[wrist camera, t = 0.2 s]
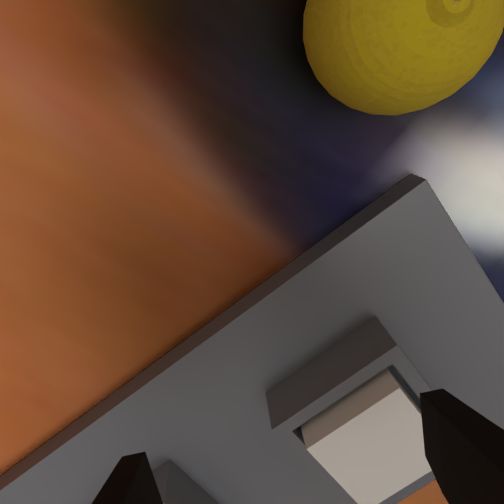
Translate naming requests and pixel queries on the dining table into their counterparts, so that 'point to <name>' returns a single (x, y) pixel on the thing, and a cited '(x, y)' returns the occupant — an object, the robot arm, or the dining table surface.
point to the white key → (370, 439)
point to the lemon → (398, 49)
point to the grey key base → (293, 367)
